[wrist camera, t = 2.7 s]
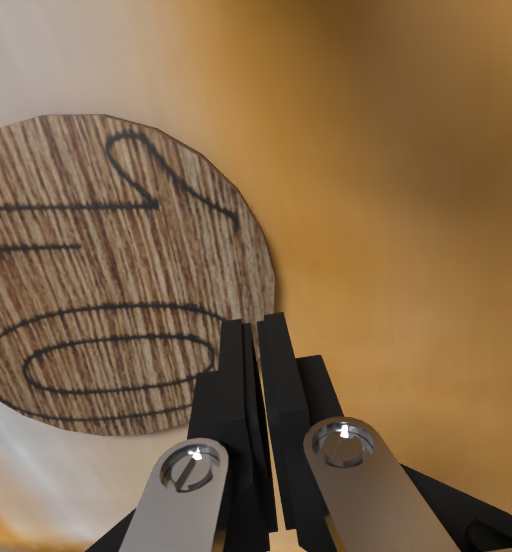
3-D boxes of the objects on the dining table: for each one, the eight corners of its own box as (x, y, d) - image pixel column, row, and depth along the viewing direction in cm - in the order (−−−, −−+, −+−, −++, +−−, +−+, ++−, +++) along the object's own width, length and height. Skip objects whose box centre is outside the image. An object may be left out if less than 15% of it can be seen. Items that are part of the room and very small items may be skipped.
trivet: (-139, 143, 26) (-167, 146, 24) (249, 86, 26) (250, 84, 24) (7, 438, 36) (-4, 455, 34) (289, 397, 36) (292, 412, 34)
